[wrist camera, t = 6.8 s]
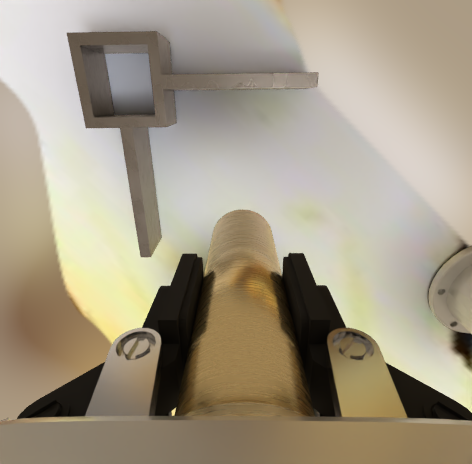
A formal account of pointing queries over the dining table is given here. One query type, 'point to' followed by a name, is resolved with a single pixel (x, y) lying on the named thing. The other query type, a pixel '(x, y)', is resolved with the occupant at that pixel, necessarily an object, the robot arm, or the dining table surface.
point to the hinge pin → (243, 330)
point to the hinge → (163, 84)
